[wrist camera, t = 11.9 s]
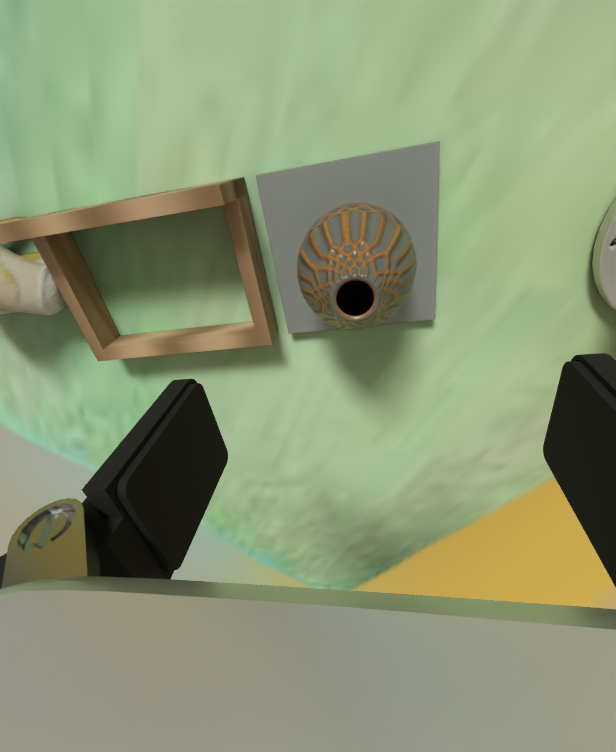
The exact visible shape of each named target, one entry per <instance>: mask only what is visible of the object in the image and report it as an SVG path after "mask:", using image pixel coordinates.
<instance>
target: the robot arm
mask: <svg viewBox="0 0 616 752" xmlns="http://www.w3.org/2000/svg"><path fill="white" fill-rule="evenodd" d="M612 240H613V241H612ZM611 241H612V242H611ZM592 267H593V274H594V281H595V284H596V286H597V288H598V291H599V293H600V295H601V296H602V298H603V299H604V300H605V301H606V302H607V304H608V305H609V306H610V307H611V308H613V309H614V310H616V199H615V200H614V202H613V203H612V204H611V206H610V208H609V210H608V212H607V214H606V216H605V218H604V220H603V222H602V224H601V226H600V229H599V232H598V235H597V239H596V242H595V245H594V252H593V262H592ZM543 453H544V457H545V460H546V462H547V464H548V466H549V467H550V469H551V471H552V473H553V475H554V476H555V478H556V480H557V482H558V484H559V485H560V487H561V489H562V491H563V493H564V494H565V496H566V498H567V500H568V502H569V503H570V505H571V507H572V509H573V511H574V512H575V514H576V516H577V518H578V520H579V522H580V523H581V525H582V527H583V529H584V531H585V532H586V534H587V536H588V538H589V540H590V541H591V543H592V545H593V547H594V549H595V550H596V552H597V554H598V556H599V558H600V560H601V561H602V563H603V565H604V567H605V569H606V570H607V572H608V574H609V576H610V578H611V579H612V581H613V583H614V585H615V587H616V361H615V360H614V359H613V358H612V357H611V356H610V355H608V354H605V353H601V354H585V355H576V356H574V357H573V359H572V360H571V362H566V363H565V364H564V366H563V368H562V372H561V376H560V380H559V385H558V389H557V393H556V397H555V401H554V405H553V409H552V413H551V417H550V421H549V425H548V429H547V433H546V437H545V441H544V446H543ZM227 460H228V452H227V449H226V446H225V443H224V441H223V438H222V436H221V433H220V430H219V428H218V425H217V422H216V420H215V417H214V415H213V412H212V409H211V407H210V404H209V401H208V399H207V396H206V393H205V391H204V388H203V386H202V385H201V384H199V383H197V382H196V381H195V380H194V379H182V380H173V381H172V382H171V383H170V384H169V385H168V386H167V388H166V389H165V390H164V391H163V392H162V394H161V395H160V396H159V397H158V398H157V400H156V401H155V402H154V403H153V404H152V406H151V407H150V408H149V409H148V410H147V412H146V413H145V414H144V415H143V417H142V418H141V419H140V420H139V421H138V423H137V424H136V425H135V426H134V427H133V429H132V430H131V431H130V432H129V433H128V435H127V436H126V437H125V438H124V439H123V441H122V442H121V443H120V444H119V445H118V447H117V448H116V449H115V450H114V451H113V453H112V454H111V455H110V456H109V458H108V459H107V460H106V461H105V462H104V464H103V465H102V466H101V467H100V468H99V470H98V471H97V472H96V473H95V474H94V476H93V477H92V478H91V479H90V480H89V482H88V483H87V484H86V485H85V487H84V488H83V489H82V491H83V492H84V493H85V495H86V496H87V498H86V499H85V500H84V502H83V503H81V502H80V501H78V500H77V499H70V498H68V499H62V500H58V501H55V502H53V503H50V504H48V505H46V506H44V507H43V508H41V509H39V510H37V511H36V512H35V513H33V514H32V515H31V516H30V517H28V518H27V519H26V520H25V521H24V522H23V523H22V524H21V525H20V526H19V527H18V528H17V530H16V531H15V533H14V534H13V535H12V537H11V540H10V542H9V545H8V551H7V553H6V554H5V555H3V556H1V557H0V752H616V610H613V609H602V608H590V607H577V606H563V605H562V606H561V605H549V604H533V603H521V602H507V601H493V600H479V599H464V598H450V597H435V596H422V595H405V594H392V593H391V594H389V593H377V592H376V593H375V592H362V591H347V590H331V589H316V588H299V587H285V586H269V585H252V584H236V583H219V582H203V581H186V580H170V579H171V576H172V574H173V572H174V570H177V569H178V568H179V567H180V566H181V564H182V562H183V560H184V558H185V556H186V553H187V551H188V549H189V546H190V544H191V542H192V540H193V538H194V535H195V533H196V531H197V529H198V526H199V524H200V522H201V520H202V518H203V515H204V513H205V511H206V509H207V506H208V504H209V502H210V500H211V497H212V495H213V493H214V491H215V488H216V486H217V484H218V482H219V479H220V477H221V475H222V473H223V470H224V468H225V466H226V464H227Z"/></svg>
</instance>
